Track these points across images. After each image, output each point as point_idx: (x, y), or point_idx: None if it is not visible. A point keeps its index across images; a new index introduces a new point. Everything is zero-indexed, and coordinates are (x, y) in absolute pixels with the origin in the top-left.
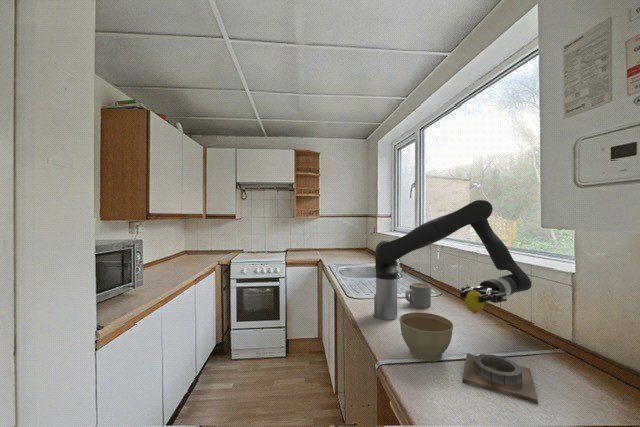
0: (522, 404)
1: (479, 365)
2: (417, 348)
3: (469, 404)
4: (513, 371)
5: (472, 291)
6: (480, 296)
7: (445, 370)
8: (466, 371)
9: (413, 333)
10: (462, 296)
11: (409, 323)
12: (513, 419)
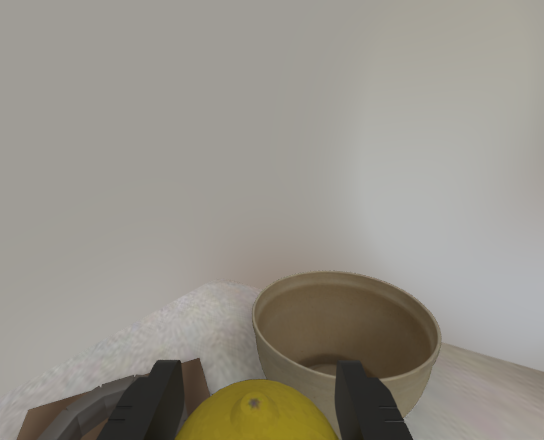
0: (74, 389)
1: None
2: (308, 323)
3: (172, 326)
4: (65, 427)
5: (268, 395)
6: (164, 360)
7: (248, 376)
8: (201, 388)
9: (313, 284)
10: (335, 388)
11: (420, 349)
12: (104, 342)
